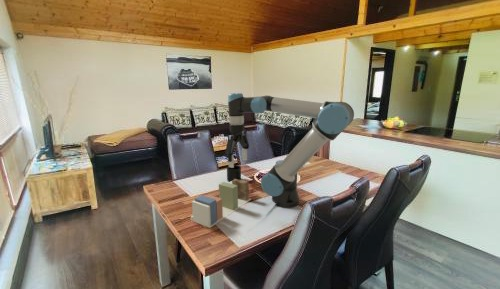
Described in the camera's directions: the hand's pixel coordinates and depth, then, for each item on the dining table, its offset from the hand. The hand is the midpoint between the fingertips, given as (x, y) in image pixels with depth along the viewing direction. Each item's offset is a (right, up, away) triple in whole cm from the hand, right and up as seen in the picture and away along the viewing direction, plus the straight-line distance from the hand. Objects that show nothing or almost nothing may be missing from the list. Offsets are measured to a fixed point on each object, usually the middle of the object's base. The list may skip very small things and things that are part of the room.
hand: (238, 163), depth 135 cm
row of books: (-7, -24, -4) cm, 25 cm away
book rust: (-11, -25, -12) cm, 30 cm away
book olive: (-5, -22, -2) cm, 23 cm away
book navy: (-14, -26, -16) cm, 33 cm away
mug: (-4, -14, +37) cm, 39 cm away
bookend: (+1, -20, +8) cm, 21 cm away
